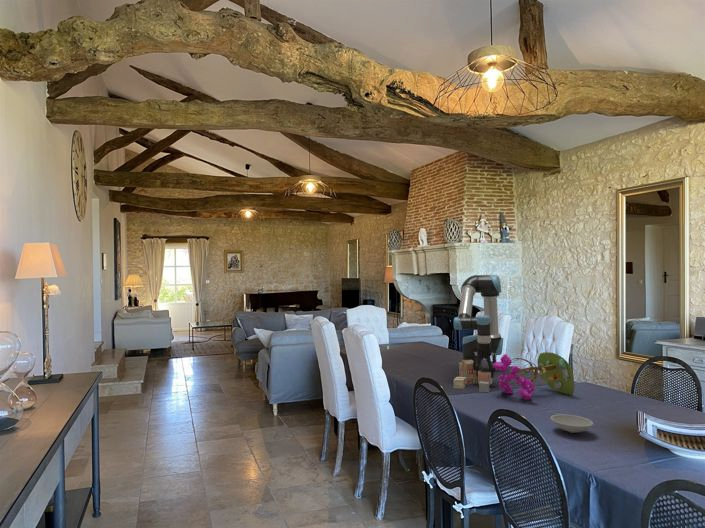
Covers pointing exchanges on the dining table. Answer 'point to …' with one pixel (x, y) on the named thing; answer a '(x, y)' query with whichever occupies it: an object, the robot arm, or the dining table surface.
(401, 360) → the dining table surface
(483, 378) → the terracotta cube
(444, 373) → the dining table surface
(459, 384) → the beech block
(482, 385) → the grey cube
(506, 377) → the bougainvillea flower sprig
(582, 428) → the dish
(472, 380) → the stack of blocks
